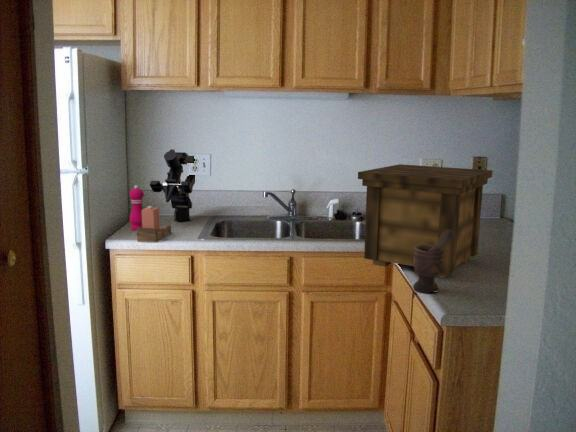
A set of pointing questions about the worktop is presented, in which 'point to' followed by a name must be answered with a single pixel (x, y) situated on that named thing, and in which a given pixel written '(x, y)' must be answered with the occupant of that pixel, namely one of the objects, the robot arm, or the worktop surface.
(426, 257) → the mortar and pestle
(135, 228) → the pepper mill
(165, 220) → the worktop surface
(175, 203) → the robot arm
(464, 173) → the crate
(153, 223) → the salmon orange block
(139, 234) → the brown wooden box
